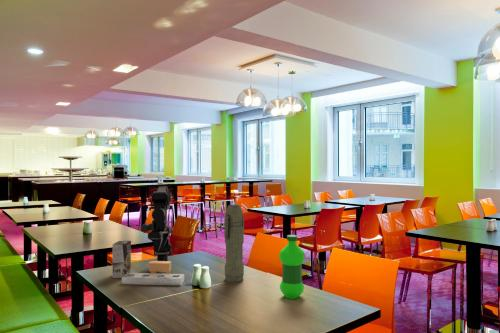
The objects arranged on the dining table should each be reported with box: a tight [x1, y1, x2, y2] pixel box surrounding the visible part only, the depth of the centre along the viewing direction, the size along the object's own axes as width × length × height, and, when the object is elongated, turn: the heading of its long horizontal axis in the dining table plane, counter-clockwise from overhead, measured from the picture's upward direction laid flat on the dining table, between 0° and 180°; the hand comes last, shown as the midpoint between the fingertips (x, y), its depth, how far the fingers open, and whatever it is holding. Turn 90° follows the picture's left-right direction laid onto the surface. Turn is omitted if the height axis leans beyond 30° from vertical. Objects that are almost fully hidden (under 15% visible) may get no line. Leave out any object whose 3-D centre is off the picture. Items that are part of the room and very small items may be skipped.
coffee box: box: [111, 240, 132, 279], centre depth 192 cm, size 9×6×16 cm
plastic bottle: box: [278, 234, 306, 300], centre depth 163 cm, size 10×10×25 cm
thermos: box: [223, 204, 245, 284], centre depth 185 cm, size 9×12×35 cm
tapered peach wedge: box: [148, 260, 172, 274], centre depth 192 cm, size 10×4×6 cm, turn 86°
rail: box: [121, 272, 185, 286], centre depth 182 cm, size 7×27×3 cm, turn 86°
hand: (159, 249), depth 192 cm, fingers open, 9 cm apart
